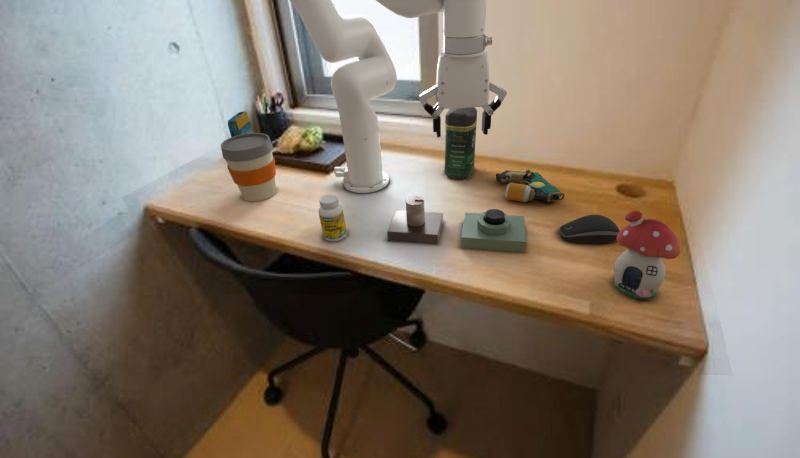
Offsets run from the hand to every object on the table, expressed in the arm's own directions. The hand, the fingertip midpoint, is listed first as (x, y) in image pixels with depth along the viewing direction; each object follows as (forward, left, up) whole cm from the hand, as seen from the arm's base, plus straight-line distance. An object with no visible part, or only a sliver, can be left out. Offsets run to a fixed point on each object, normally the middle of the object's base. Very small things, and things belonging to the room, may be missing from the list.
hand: (461, 133), depth 86 cm
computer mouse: (+28, -4, -21) cm, 35 cm away
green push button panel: (+8, -7, -20) cm, 23 cm away
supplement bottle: (-27, -11, -21) cm, 36 cm away
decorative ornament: (+33, -20, -21) cm, 44 cm away
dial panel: (-9, -7, -20) cm, 23 cm away
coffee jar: (-2, +24, -21) cm, 31 cm away
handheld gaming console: (-68, +25, -21) cm, 75 cm away
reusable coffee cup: (-55, +6, -21) cm, 59 cm away
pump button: (+8, -7, -16) cm, 20 cm away
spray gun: (+16, +15, -21) cm, 30 cm away
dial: (-9, -7, -18) cm, 21 cm away
